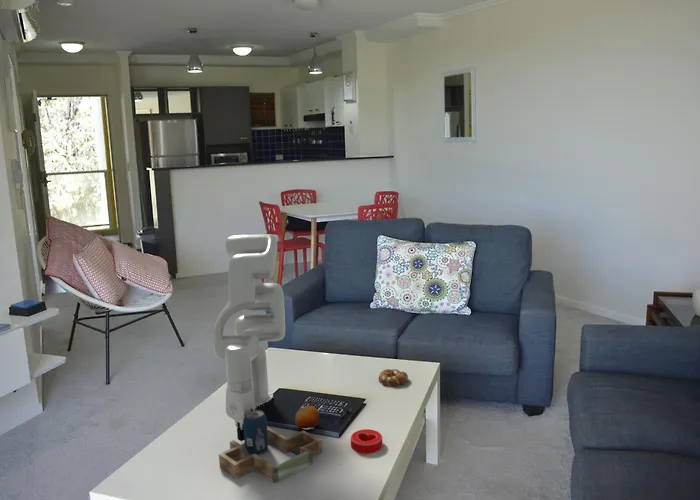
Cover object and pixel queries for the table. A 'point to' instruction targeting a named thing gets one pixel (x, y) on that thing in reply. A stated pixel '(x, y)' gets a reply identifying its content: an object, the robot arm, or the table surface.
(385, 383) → the pretzel
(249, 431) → the soda can
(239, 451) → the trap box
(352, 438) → the decorative ornament
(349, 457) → the table surface
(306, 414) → the fruit
